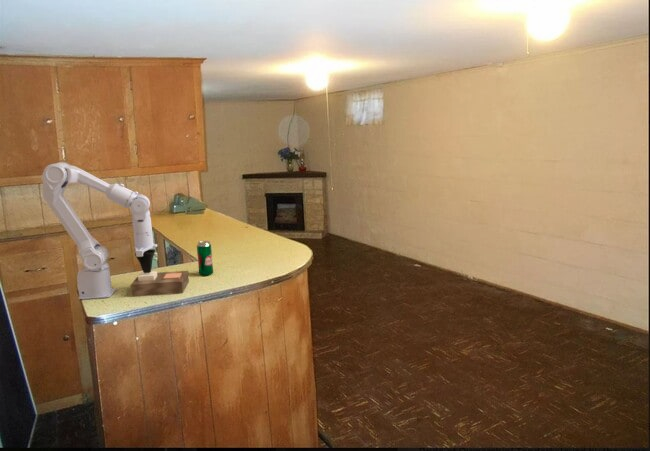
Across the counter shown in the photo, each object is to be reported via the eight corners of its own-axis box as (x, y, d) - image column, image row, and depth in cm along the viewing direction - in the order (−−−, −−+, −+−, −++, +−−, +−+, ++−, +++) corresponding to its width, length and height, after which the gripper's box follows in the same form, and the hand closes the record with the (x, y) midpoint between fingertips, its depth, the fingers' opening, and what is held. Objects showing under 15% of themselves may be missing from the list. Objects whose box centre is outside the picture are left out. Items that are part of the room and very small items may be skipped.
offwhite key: (138, 283, 163) (137, 276, 163) (142, 279, 168) (141, 272, 167) (154, 282, 164) (153, 275, 163) (157, 278, 168) (156, 271, 168)
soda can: (208, 276, 178) (205, 244, 176) (196, 275, 180) (193, 243, 178) (216, 272, 183) (213, 241, 181) (204, 271, 185) (201, 240, 183)
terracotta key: (164, 285, 164) (163, 278, 164) (167, 280, 169) (166, 273, 168) (179, 284, 165) (178, 277, 164) (182, 279, 169) (181, 272, 169)
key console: (131, 296, 160) (130, 284, 159) (141, 284, 172) (140, 273, 171) (182, 293, 162) (181, 281, 161) (188, 281, 173) (187, 270, 173)
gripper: (150, 236, 156) (154, 278, 159) (160, 227, 170) (164, 265, 173) (127, 237, 155) (131, 279, 158) (139, 228, 169) (143, 266, 172)
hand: (147, 272), depth 165 cm, fingers closed
